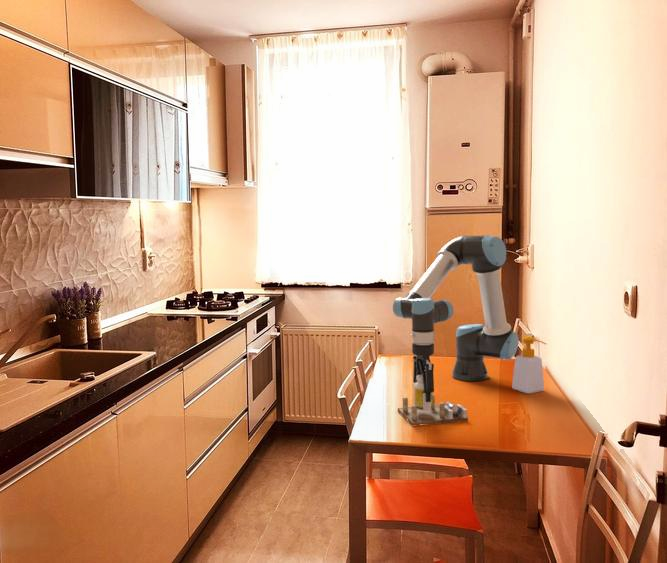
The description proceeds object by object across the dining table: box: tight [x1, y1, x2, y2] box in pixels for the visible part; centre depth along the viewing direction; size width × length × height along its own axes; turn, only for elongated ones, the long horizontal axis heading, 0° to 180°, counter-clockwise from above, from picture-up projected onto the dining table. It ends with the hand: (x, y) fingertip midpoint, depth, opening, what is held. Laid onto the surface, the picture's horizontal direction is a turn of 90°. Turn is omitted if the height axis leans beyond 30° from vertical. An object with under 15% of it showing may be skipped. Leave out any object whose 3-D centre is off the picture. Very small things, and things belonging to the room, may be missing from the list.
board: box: [397, 394, 469, 426], centre depth 203 cm, size 16×20×6 cm
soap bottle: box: [511, 335, 547, 395], centre depth 228 cm, size 10×14×22 cm
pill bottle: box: [413, 375, 434, 411], centre depth 201 cm, size 6×6×12 cm
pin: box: [444, 401, 460, 416], centre depth 202 cm, size 7×3×3 cm, turn 12°
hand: (423, 407), depth 201 cm, fingers closed on pill bottle, 6 cm apart
